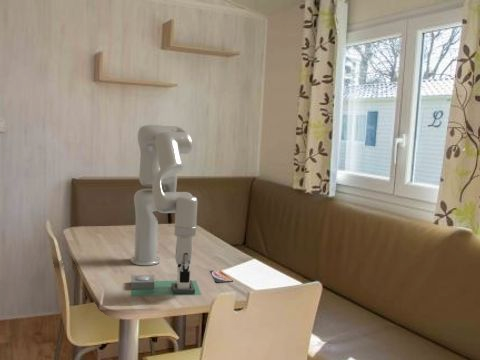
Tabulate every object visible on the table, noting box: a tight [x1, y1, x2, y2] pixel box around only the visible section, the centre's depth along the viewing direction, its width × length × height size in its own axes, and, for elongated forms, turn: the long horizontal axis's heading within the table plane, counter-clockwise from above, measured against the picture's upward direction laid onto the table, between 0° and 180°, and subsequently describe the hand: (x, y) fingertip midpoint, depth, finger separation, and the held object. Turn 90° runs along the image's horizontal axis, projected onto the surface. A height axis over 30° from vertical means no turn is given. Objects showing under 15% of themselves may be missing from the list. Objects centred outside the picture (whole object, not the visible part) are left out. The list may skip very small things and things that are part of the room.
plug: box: [176, 266, 191, 289], centre depth 178 cm, size 4×4×8 cm
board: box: [130, 274, 202, 297], centre depth 180 cm, size 16×24×4 cm, turn 102°
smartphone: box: [209, 269, 234, 284], centre depth 200 cm, size 8×1×15 cm
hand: (183, 277), depth 178 cm, fingers open, 9 cm apart
